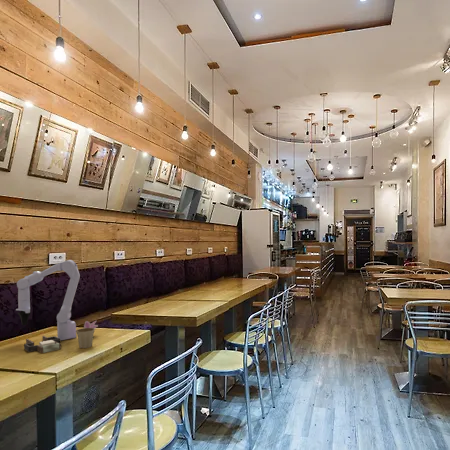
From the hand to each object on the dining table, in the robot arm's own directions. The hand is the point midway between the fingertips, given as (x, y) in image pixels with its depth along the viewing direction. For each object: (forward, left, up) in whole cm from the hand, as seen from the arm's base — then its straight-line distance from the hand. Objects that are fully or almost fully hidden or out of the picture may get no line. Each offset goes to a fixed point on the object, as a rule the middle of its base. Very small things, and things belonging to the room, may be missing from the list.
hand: (24, 324), depth 211 cm
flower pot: (-19, +38, -10) cm, 44 cm away
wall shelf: (-4, +19, -9) cm, 21 cm away
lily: (-28, +19, -10) cm, 35 cm away
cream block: (-4, +27, -10) cm, 29 cm away
